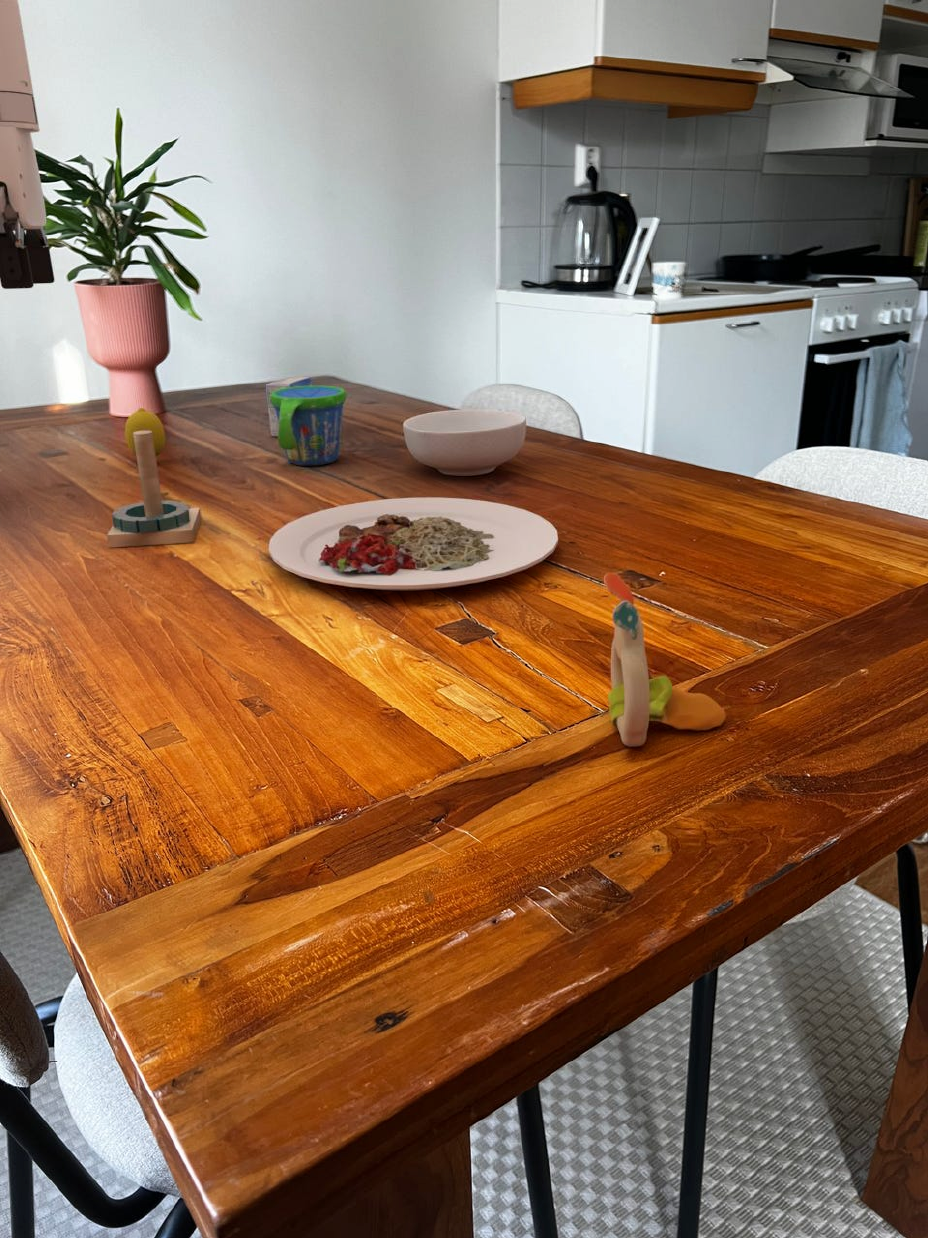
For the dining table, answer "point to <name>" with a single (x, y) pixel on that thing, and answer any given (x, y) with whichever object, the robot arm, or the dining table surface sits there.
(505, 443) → the cereal bowl
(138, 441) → the stand
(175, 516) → the ring
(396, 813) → the dining table surface
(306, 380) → the medicine box
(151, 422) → the lemon
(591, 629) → the dining table surface
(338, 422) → the snack cup
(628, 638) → the rattle
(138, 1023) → the dining table surface
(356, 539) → the plated food
